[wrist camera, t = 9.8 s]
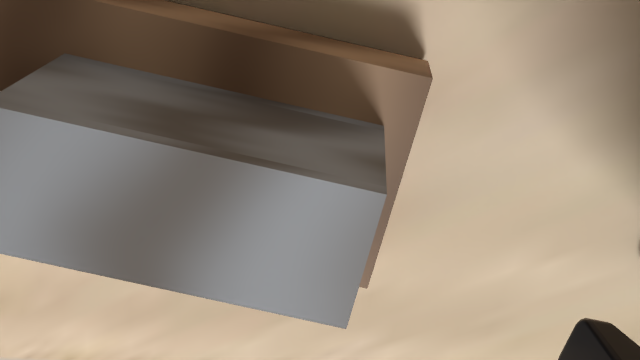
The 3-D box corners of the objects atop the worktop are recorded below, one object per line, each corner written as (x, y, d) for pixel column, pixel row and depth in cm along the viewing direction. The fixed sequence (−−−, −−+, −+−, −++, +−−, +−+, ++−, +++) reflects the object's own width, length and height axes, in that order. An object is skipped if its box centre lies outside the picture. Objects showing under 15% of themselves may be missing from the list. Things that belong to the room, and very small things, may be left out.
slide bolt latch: (427, 60, 19) (449, 137, 14) (367, 259, 23) (365, 381, 17) (-308, -109, 19) (-592, -99, 13) (-246, 123, 22) (-449, 206, 17)
